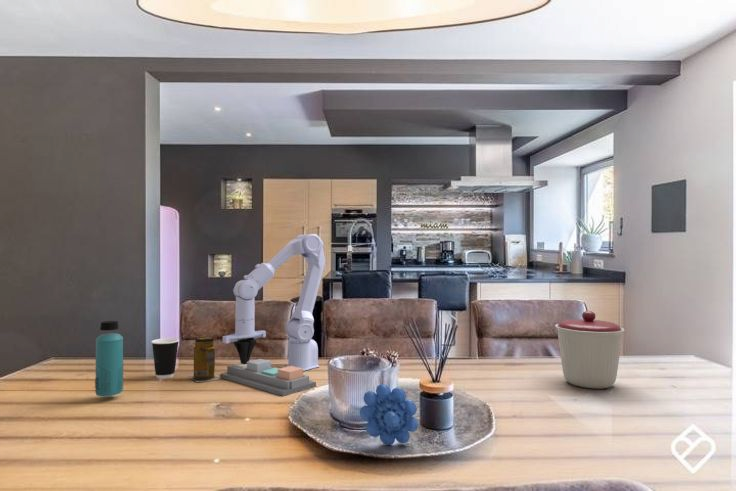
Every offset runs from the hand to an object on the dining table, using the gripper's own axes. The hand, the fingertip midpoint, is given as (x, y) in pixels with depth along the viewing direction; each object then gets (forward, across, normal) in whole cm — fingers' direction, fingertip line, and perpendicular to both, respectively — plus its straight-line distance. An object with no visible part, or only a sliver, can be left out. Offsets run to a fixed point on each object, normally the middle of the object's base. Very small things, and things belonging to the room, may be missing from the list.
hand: (244, 363), depth 143 cm
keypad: (+4, 0, +10) cm, 11 cm away
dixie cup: (+4, +16, -18) cm, 24 cm away
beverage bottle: (+4, +36, -8) cm, 37 cm away
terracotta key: (+1, 0, +21) cm, 21 cm away
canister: (+4, -58, +84) cm, 102 cm away
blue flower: (+4, +14, +66) cm, 68 cm away
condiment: (+4, +9, -7) cm, 12 cm away
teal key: (+2, 0, +14) cm, 14 cm away
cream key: (+2, 0, 0) cm, 2 cm away
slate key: (+1, 0, +7) cm, 7 cm away
